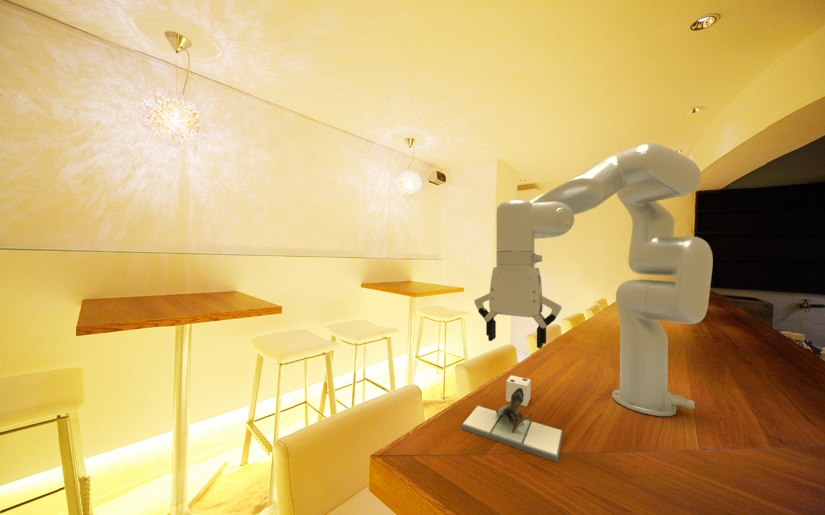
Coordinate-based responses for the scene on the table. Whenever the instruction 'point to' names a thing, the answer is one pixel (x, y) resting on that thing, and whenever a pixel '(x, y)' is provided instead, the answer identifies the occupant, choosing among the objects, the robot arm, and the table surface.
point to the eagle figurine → (514, 410)
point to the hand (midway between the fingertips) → (515, 342)
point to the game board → (515, 433)
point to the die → (516, 383)
